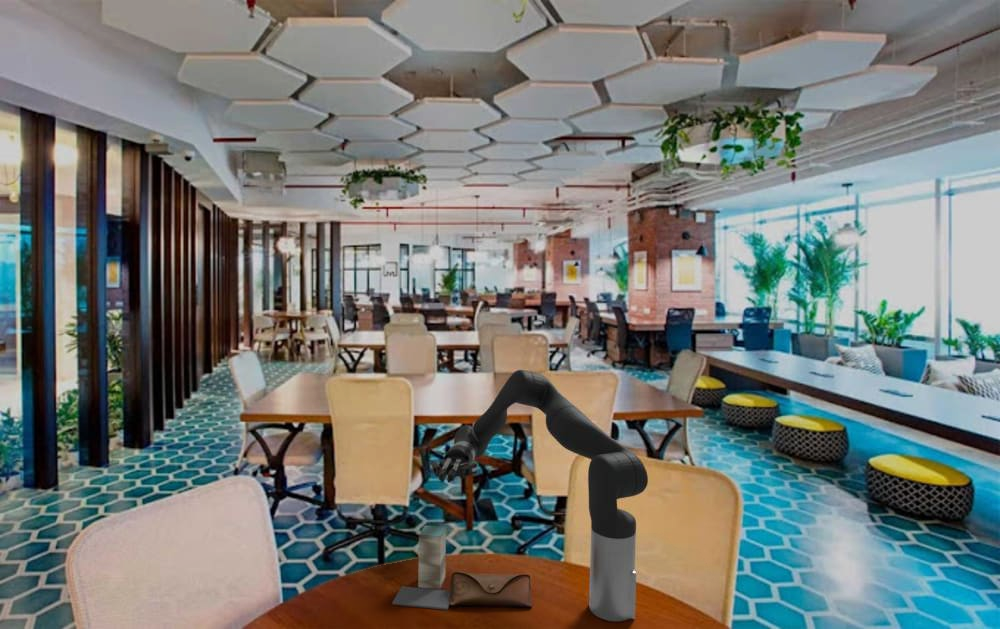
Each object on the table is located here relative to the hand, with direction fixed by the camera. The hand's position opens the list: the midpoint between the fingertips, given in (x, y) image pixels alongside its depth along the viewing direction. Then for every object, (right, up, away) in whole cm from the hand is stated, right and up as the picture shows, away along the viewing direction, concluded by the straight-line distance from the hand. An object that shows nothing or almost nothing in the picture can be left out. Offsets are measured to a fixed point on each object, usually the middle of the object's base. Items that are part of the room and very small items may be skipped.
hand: (445, 478), depth 137 cm
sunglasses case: (+12, -21, -17) cm, 29 cm away
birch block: (-2, -20, -11) cm, 23 cm away
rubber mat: (-3, -21, -18) cm, 27 cm away
